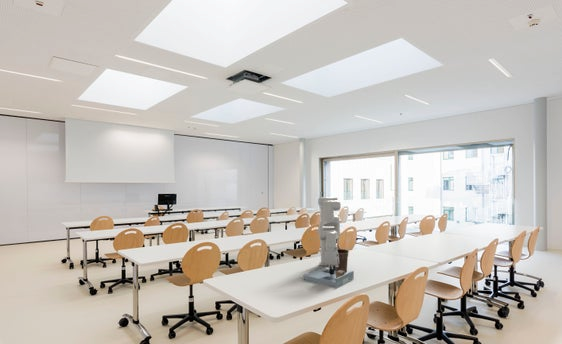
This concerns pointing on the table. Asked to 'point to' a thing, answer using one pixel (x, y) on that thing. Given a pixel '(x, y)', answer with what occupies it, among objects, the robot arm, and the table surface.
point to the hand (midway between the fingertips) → (331, 274)
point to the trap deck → (328, 277)
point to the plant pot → (342, 260)
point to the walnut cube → (339, 273)
